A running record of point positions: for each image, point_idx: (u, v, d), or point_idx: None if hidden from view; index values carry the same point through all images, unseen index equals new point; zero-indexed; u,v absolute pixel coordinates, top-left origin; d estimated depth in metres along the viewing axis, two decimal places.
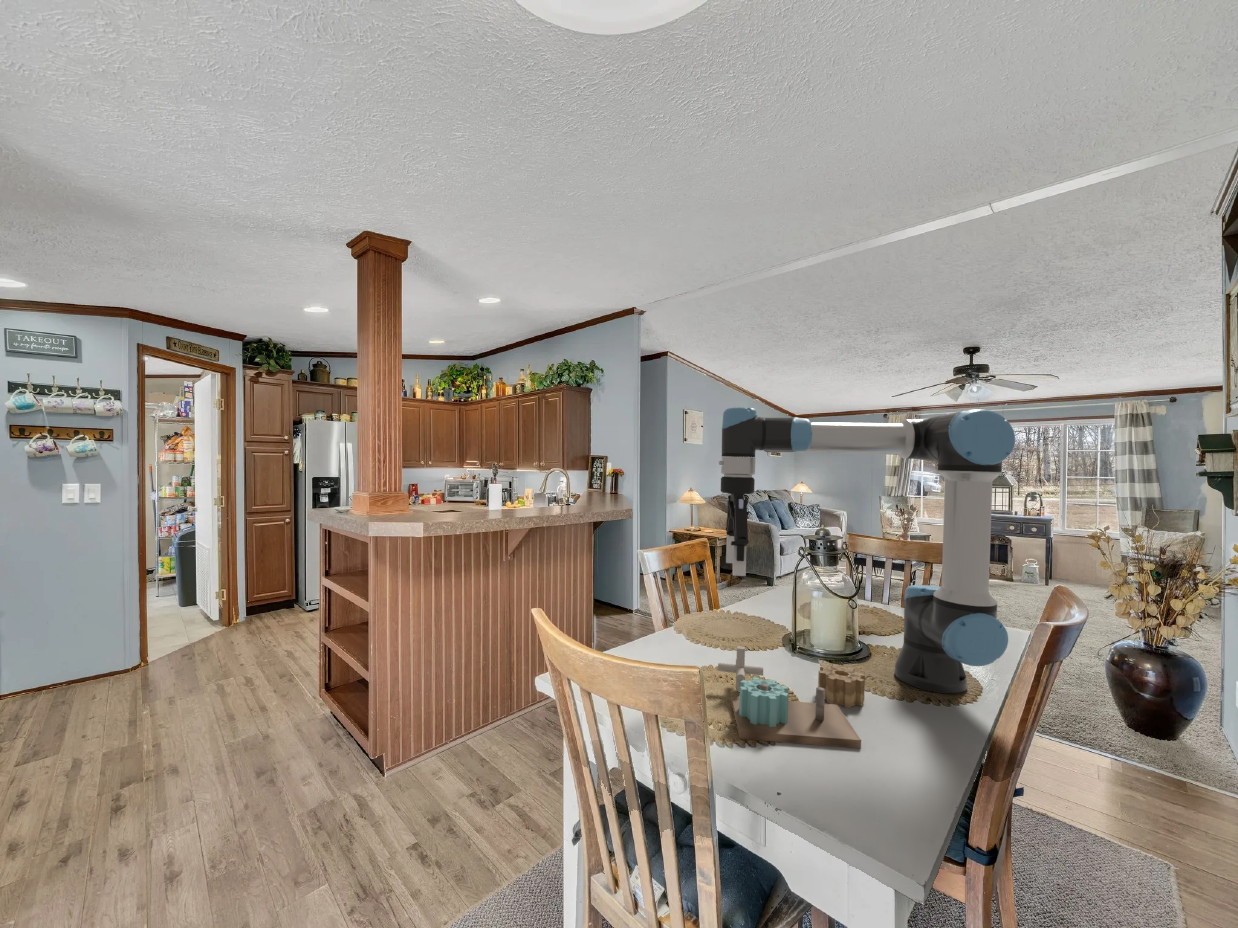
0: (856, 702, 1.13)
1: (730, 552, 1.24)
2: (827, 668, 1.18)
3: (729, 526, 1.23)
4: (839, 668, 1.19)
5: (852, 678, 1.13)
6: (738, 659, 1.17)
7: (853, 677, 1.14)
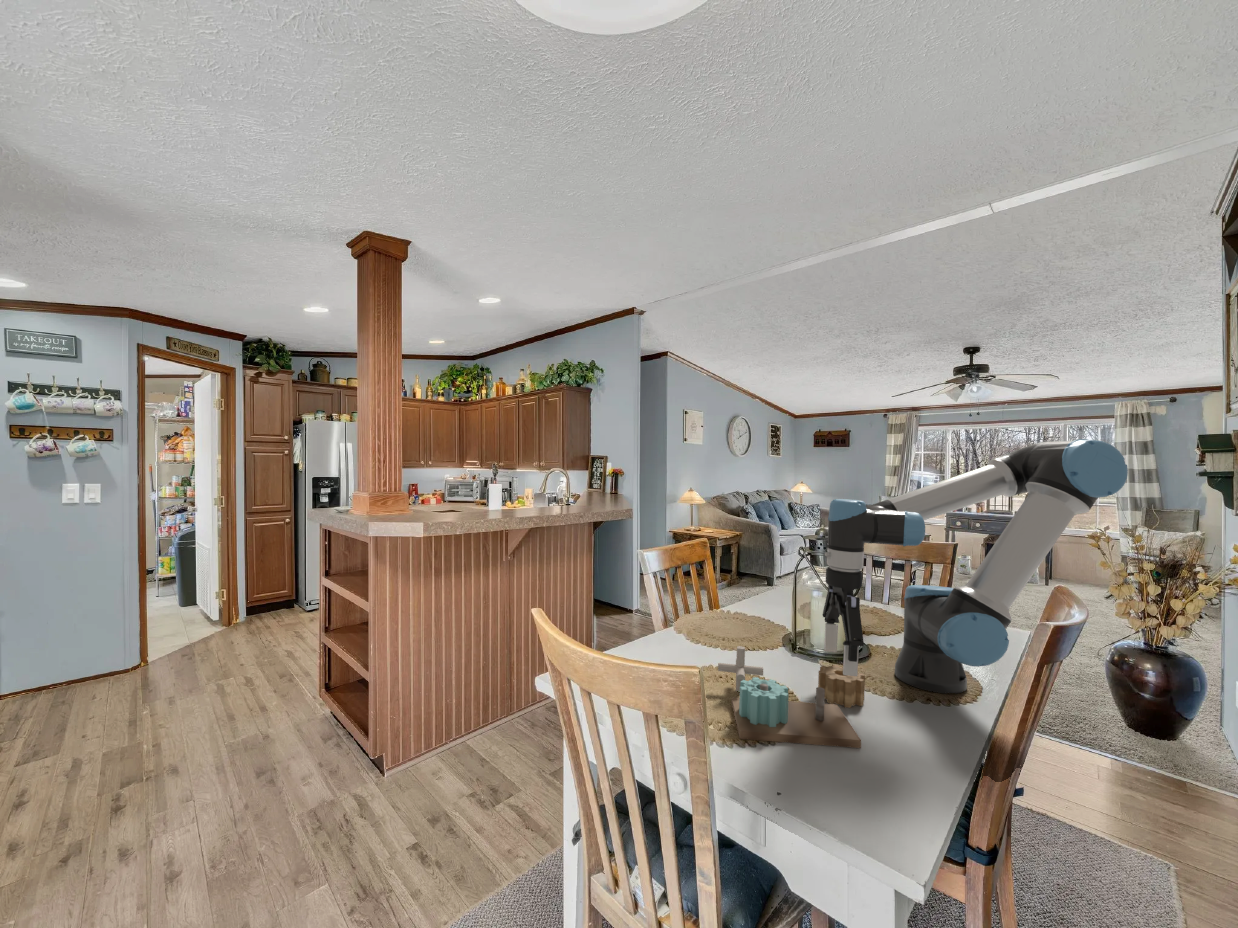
0: (856, 702, 1.13)
1: (829, 640, 1.22)
2: (827, 668, 1.18)
3: (829, 614, 1.21)
4: (839, 668, 1.19)
5: (852, 678, 1.13)
6: (738, 659, 1.17)
7: (853, 677, 1.14)
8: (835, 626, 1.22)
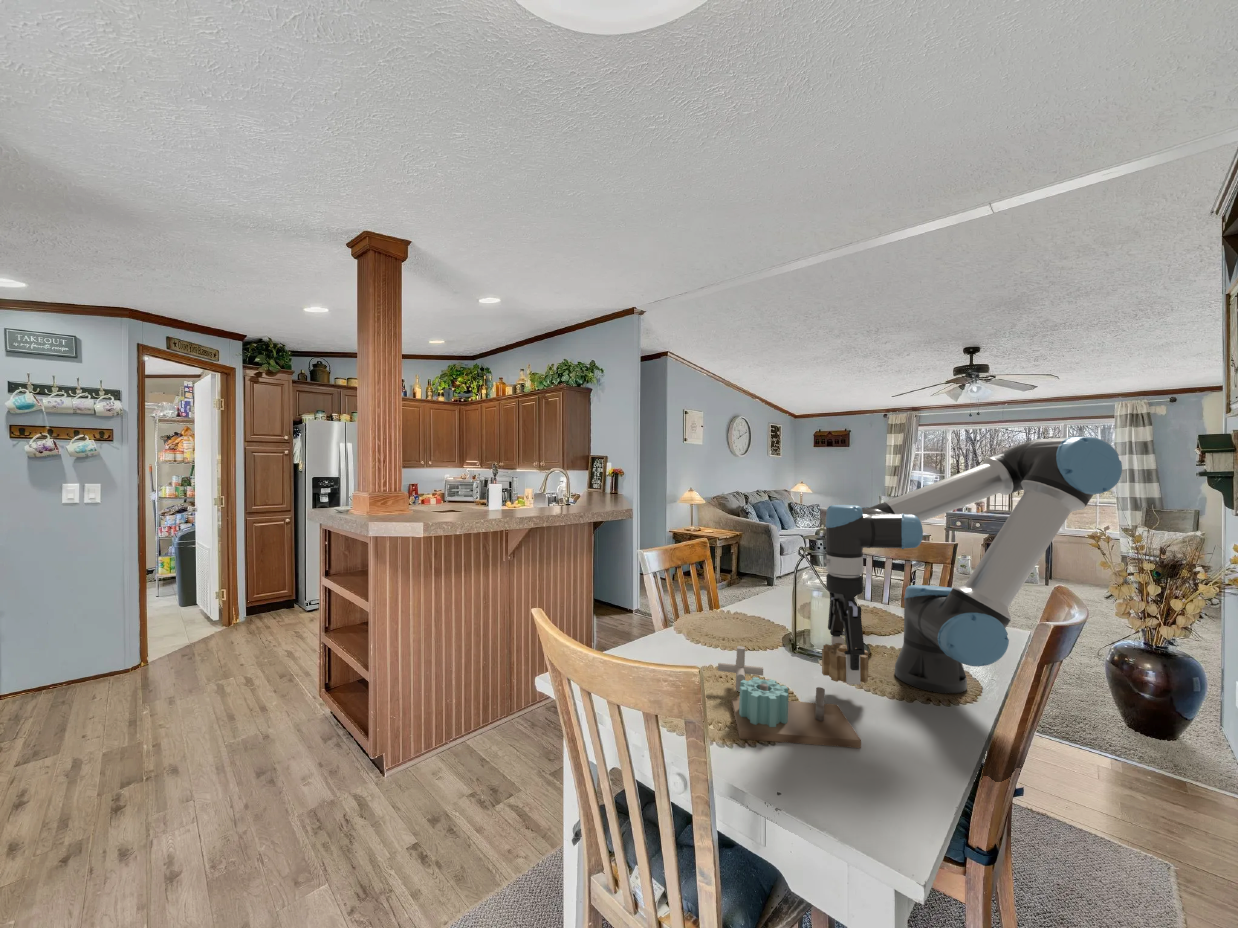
0: (860, 679, 1.12)
1: None
2: (830, 646, 1.18)
3: (834, 625, 1.20)
4: (842, 646, 1.18)
5: None
6: (738, 659, 1.17)
7: None
8: (841, 638, 1.21)
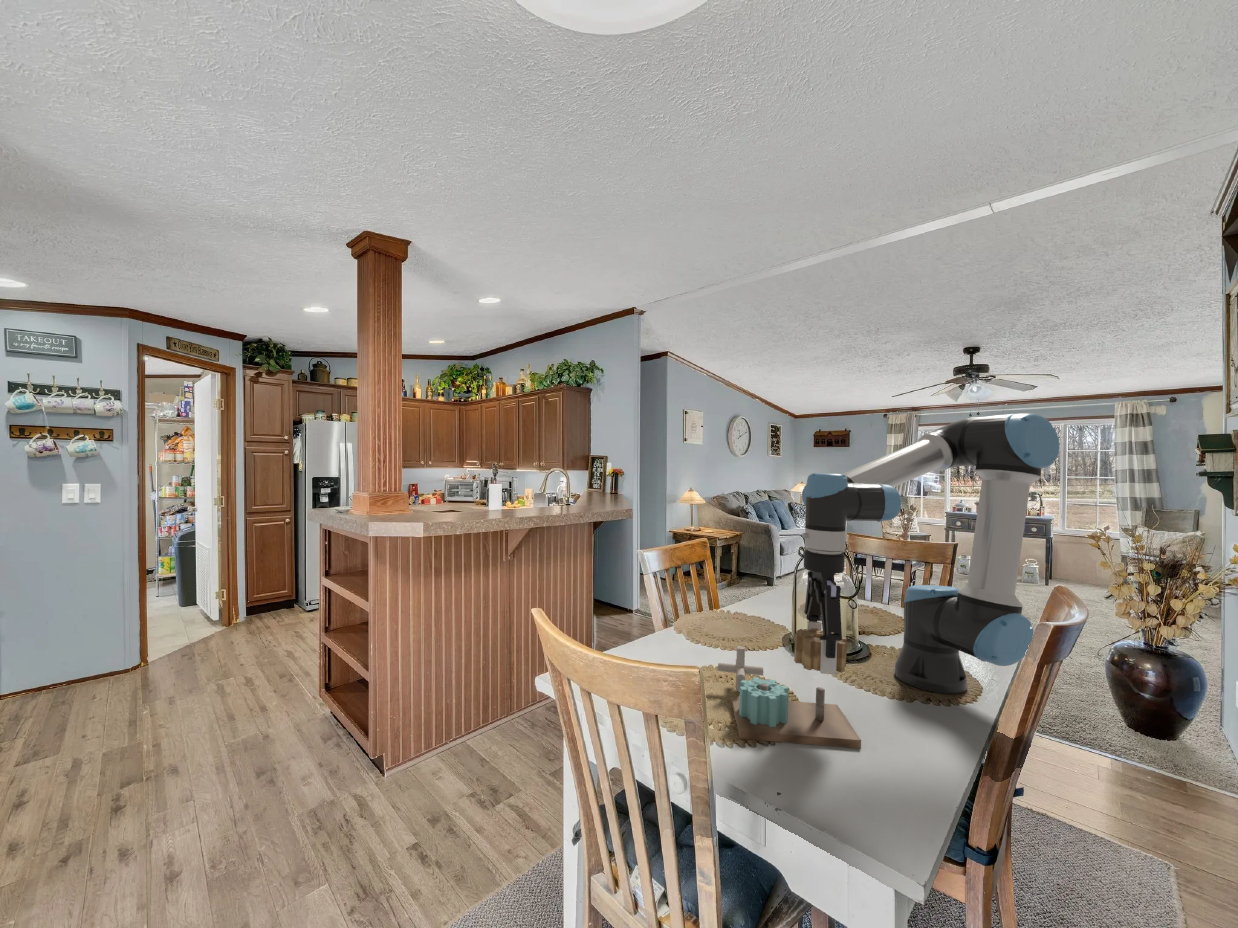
0: (836, 668, 0.99)
1: None
2: (805, 631, 1.05)
3: (811, 608, 1.07)
4: (819, 632, 1.05)
5: None
6: (738, 659, 1.17)
7: None
8: (818, 624, 1.08)
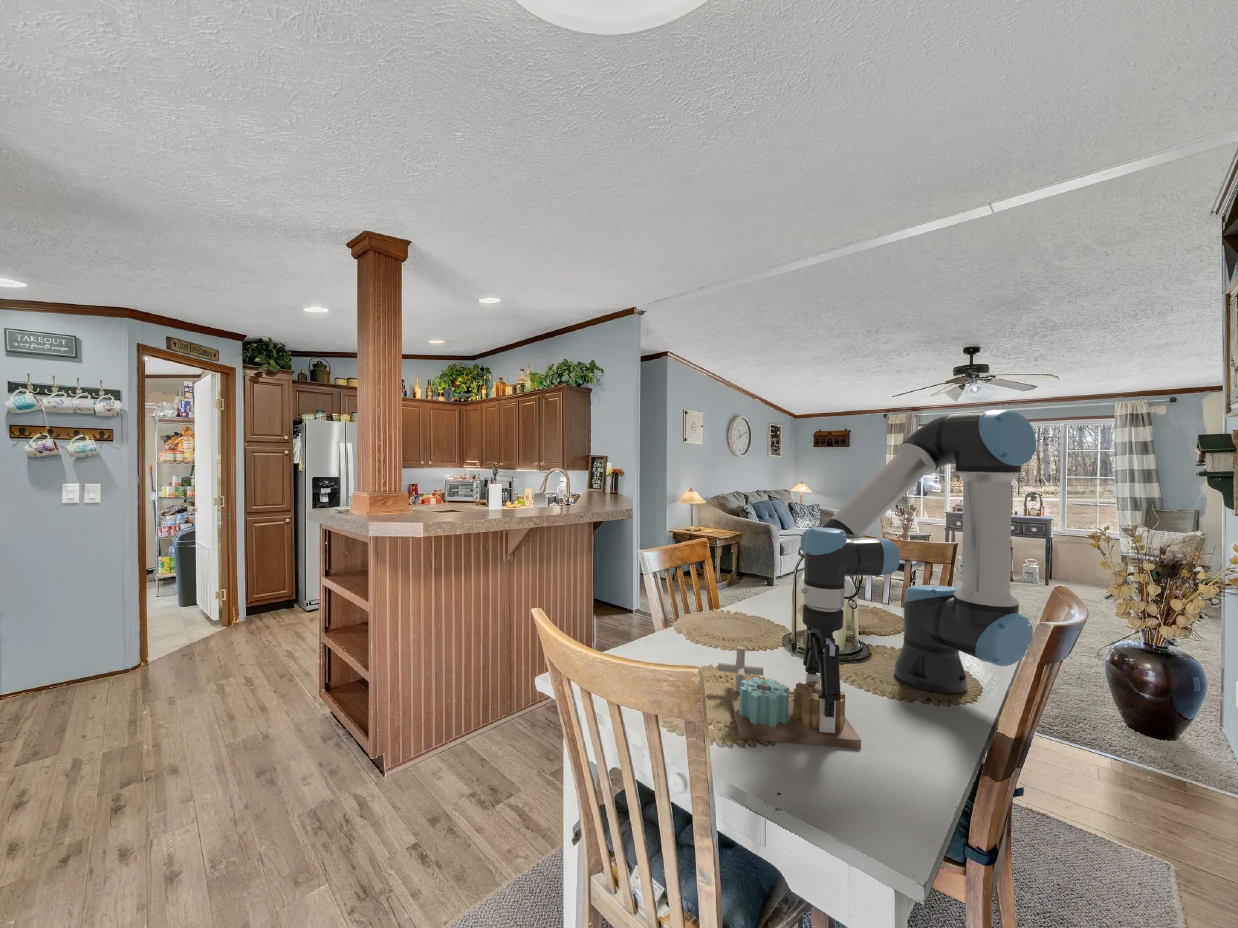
0: (835, 725, 1.00)
1: None
2: (804, 686, 1.05)
3: (810, 661, 1.07)
4: (817, 686, 1.06)
5: None
6: (738, 659, 1.17)
7: None
8: (817, 677, 1.08)
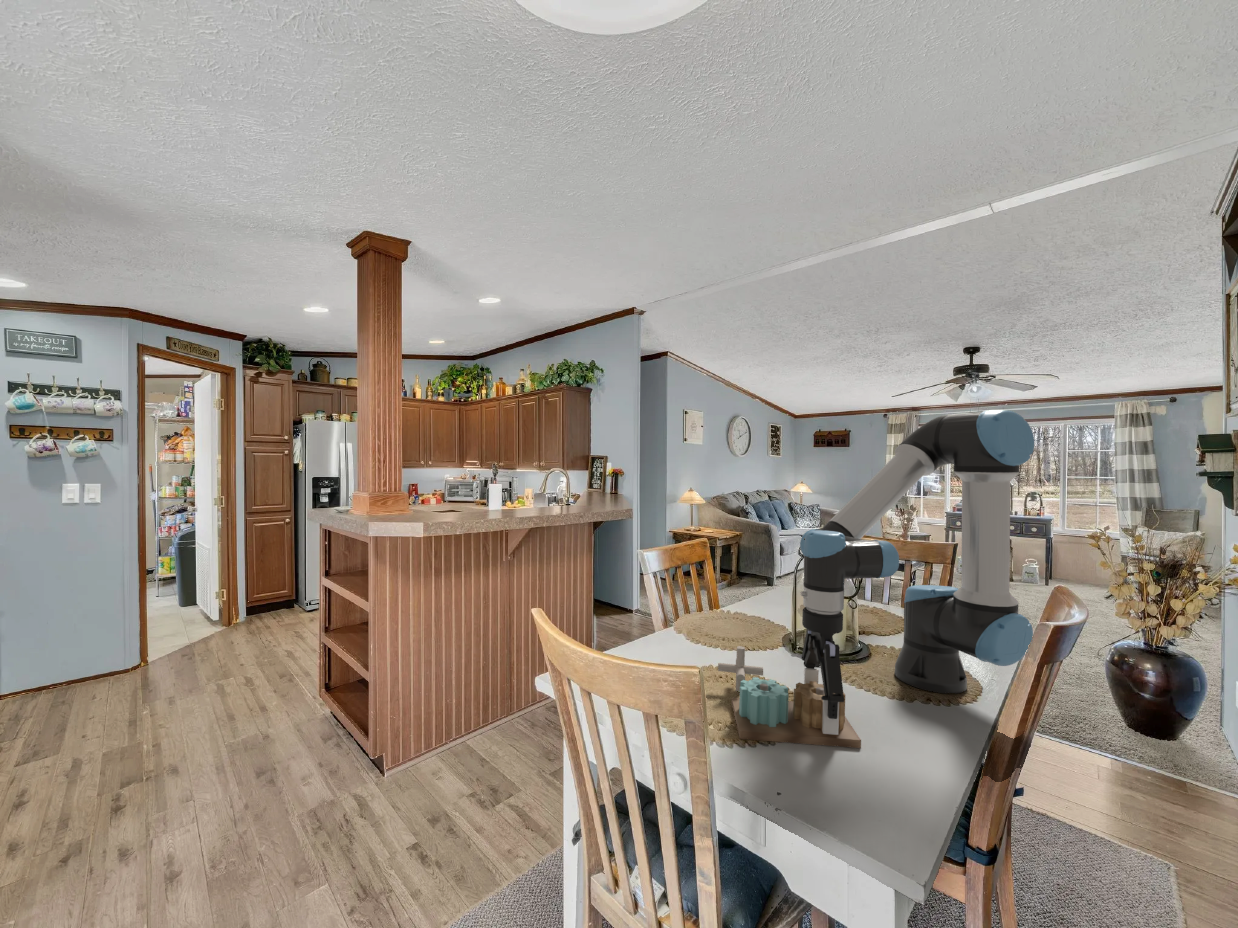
0: None
1: None
2: (804, 686, 1.05)
3: (808, 659, 1.08)
4: (817, 686, 1.06)
5: None
6: (738, 659, 1.17)
7: None
8: (815, 671, 1.09)
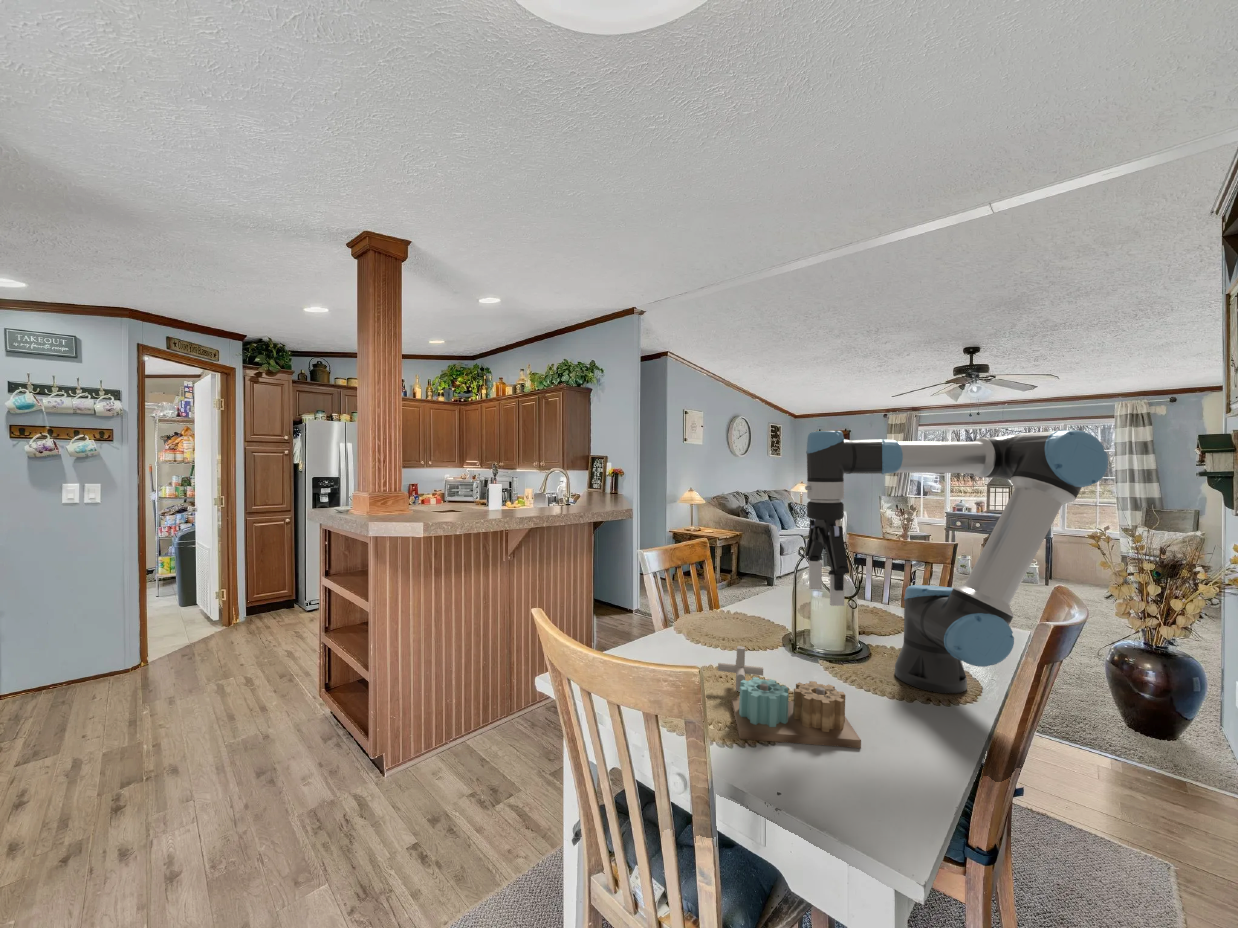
0: (835, 725, 1.00)
1: (814, 577, 1.21)
2: (804, 686, 1.05)
3: (812, 551, 1.20)
4: (817, 686, 1.06)
5: (831, 697, 1.00)
6: (738, 659, 1.17)
7: (832, 697, 1.01)
8: (819, 562, 1.21)
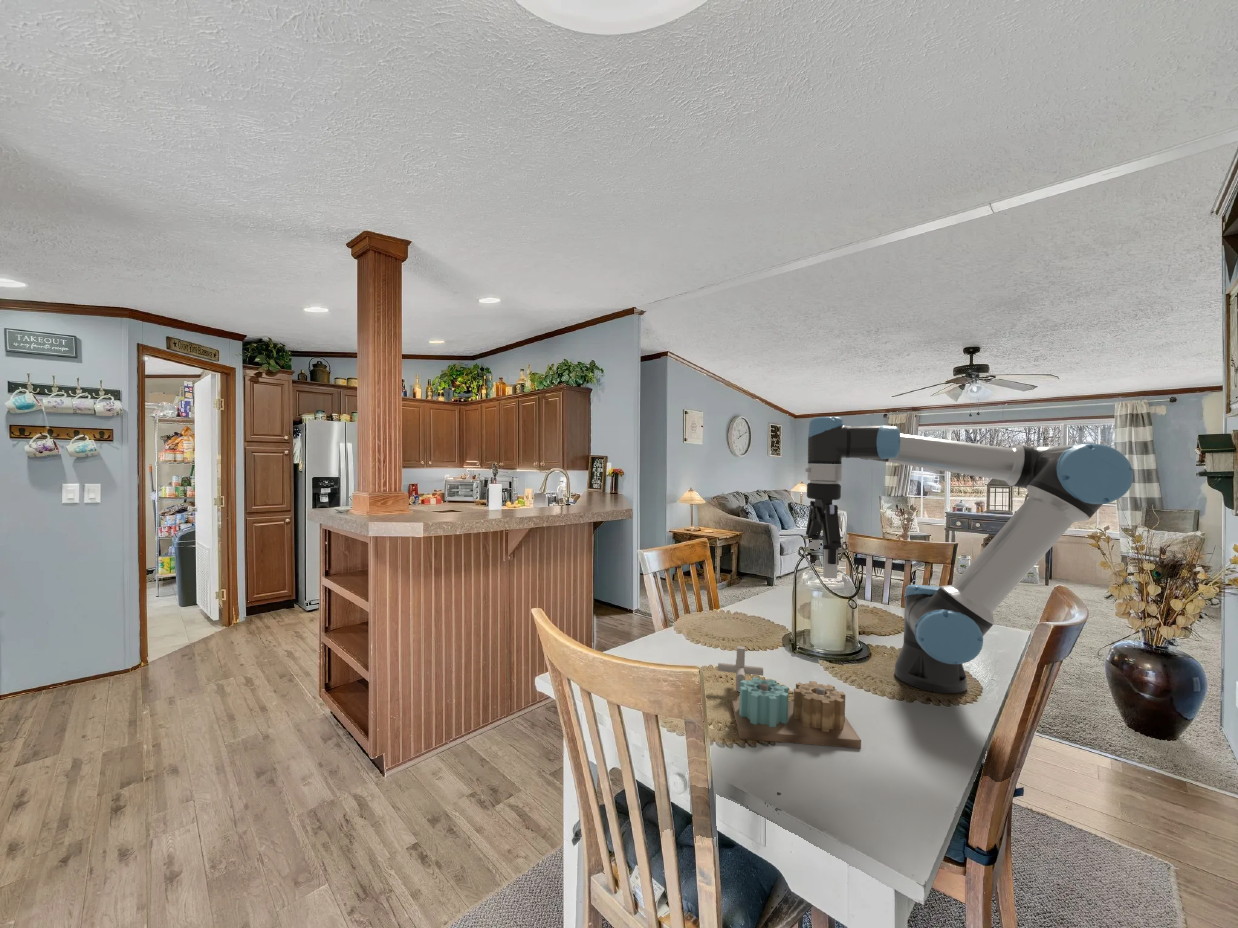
0: (835, 725, 1.00)
1: None
2: (804, 686, 1.05)
3: (812, 530, 1.28)
4: (817, 686, 1.06)
5: (831, 697, 1.00)
6: (738, 659, 1.17)
7: (832, 697, 1.01)
8: (818, 541, 1.29)
